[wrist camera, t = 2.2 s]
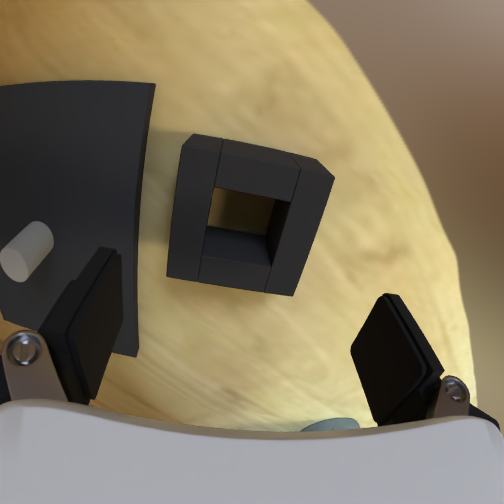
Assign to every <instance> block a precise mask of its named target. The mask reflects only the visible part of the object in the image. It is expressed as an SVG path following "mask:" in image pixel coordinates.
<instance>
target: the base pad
mask: <svg viewBox="0 0 504 504" xmlns="http://www.w3.org/2000/svg"><path fill="white" fill-rule="evenodd" d="M155 87H156V84H154V83H142V82H126V81H93V80H84V81H51V82H36V83H25V84H15V85H7V86H0V310H1V313H2V316H3V319H4V320H6V321H9V322H12V323H15V324H17V325H20V326H23V327H26V328H29V329H32V330H35V331H38V330H39V328H40V326H41V325H42V323H43V321H44V320H45V318H46V317H47V315H48V313H49V312H50V310H51V309H52V307H53V306H54V304H55V302H56V301H57V299H58V298H59V296H60V295H61V293H62V292H63V291H64V289H65V288H66V286H67V285H68V283H69V282H70V281H71V280H76V279H77V277H78V276H79V274H80V273H81V272H82V270H83V269H84V267H85V266H86V264H87V263H88V262H89V260H90V259H91V258H92V256H93V255H94V253H95V252H96V251H97V249H98V248H99V247H100V246H102V247H107V248H113V249H116V250H117V254H121V256H122V294H123V323H122V326H121V328H120V331H119V334H118V336H117V339H116V341H115V344H114V347H113V349H112V352H113V353H118V354H122V355H127V356H131V357H137V353H138V350H139V336H138V304H137V266H138V234H139V216H140V201H141V189H142V178H143V168H144V159H145V151H146V143H147V136H148V129H149V122H150V115H151V109H152V103H153V97H154V92H155Z"/></svg>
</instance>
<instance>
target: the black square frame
mask: <svg viewBox="0 0 504 504" xmlns="http://www.w3.org/2000/svg"><path fill="white" fill-rule="evenodd" d="M334 179H335V177H334V176H333V175H332V174H331V173H330V172H329V171H328V170H327V169H326V168H325V167H324V166H323V165H322V164H321V163H320V162H319V161H318V160H316V159H313V158H309V157H305V156H301V155H297V154H293V153H288V152H285V151H280V150H276V149H272V148H267V147H263V146H258V145H253V144H248V143H243V142H238V141H233V140H228V139H224V140H223V139H222V138H217V137H211V136H205V135H199V134H193V135H192V136H191V137H190V138H189V139H188V140H187V141H186V142H185V143H184V144H183V145H182V149H181V155H180V162H179V168H178V175H177V182H176V189H175V197H174V205H173V213H172V221H171V230H170V240H169V250H168V261H167V273H166V276H167V277H171V278H176V279H182V280H188V281H194V282H197V281H198V282H199V283H206V284H212V285H218V286H224V287H231V288H237V289H244V290H251V291H257V292H264V293H271V294H278V295H285V296H293V295H294V292H295V290H296V287H297V285H298V282H299V279H300V277H301V274H302V271H303V269H304V266H305V263H306V260H307V258H308V255H309V252H310V249H311V247H312V244H313V241H314V238H315V235H316V233H317V230H318V227H319V224H320V221H321V218H322V215H323V212H324V209H325V207H326V204H327V201H328V198H329V195H330V192H331V189H332V186H333V182H334ZM214 187H216V188H221V189H227V190H232V191H237V192H243V193H248V194H253V195H258V196H263V197H268V198H273V199H276V200H275V204H274V207H273V211H272V215H271V218H270V222H269V225H268V229H267V233H266V236H264V235H258V234H253V233H247V232H241V231H236V230H230V229H224V228H219V227H213V226H207V223H208V217H209V212H210V206H211V201H212V195H213V190H214Z"/></svg>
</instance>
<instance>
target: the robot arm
mask: <svg viewBox="0 0 504 504" xmlns="http://www.w3.org/2000/svg"><path fill="white" fill-rule="evenodd" d="M122 323H123V294H122V256H121V254H117V250H116V249H113V248H107V247H102V246H100V247H99V248H98V249H97V251H96V252H95V253H94V255H93V256H92V258H91V259H90V260H89V262H88V263H87V264H86V266H85V267H84V269H83V270H82V272H81V273H80V274H79V276H78V277H77V279H76V280H71V281H70V282H69V283H68V285H67V286H66V288H65V289H64V291H63V292H62V293H61V295H60V296H59V298H58V299H57V301H56V302H55V304H54V306H53V307H52V309H51V310H50V312H49V313H48V315H47V317H46V318H45V320H44V321H43V323H42V325H41V326H40V328H39V330H38V331H37V332H35V331H32V330H21V331H17V332H15V333H13V334H11V335H10V336H9V337H8V338H7V339H6V340H5V342H4V343H3V346H2V350H1V354H2V355H0V504H504V437H503V436H502V434H501V432H500V428H499V424H498V422H497V421H496V420H495V419H493V418H492V417H490V416H489V415H487V414H486V413H484V412H483V411H481V410H479V409H478V408H476V407H475V406H473V405H472V404H470V393H469V390H468V388H467V386H466V385H465V384H464V383H463V381H461V380H460V379H459V378H457V377H455V376H450V375H449V376H445V377H444V378H443V379H442V380H441V379H440V376H441V375H442V373H443V372H444V371H445V370H444V368H443V367H442V365H441V363H440V361H439V359H438V358H437V356H436V354H435V353H434V351H433V349H432V347H431V346H430V344H429V342H428V341H427V339H426V337H425V336H424V334H423V332H422V331H421V329H420V327H419V326H418V324H417V323H416V321H415V319H414V318H413V316H412V315H411V313H410V311H409V310H408V308H407V307H406V305H405V304H404V302H403V301H402V299H401V298H400V296H399V295H397V294H389V293H384V294H383V295H382V296H380V297H379V298H378V299H377V301H376V303H375V305H374V307H373V308H372V310H371V312H370V314H369V316H368V318H367V319H366V321H365V323H364V325H363V326H362V328H361V330H360V332H359V333H358V335H357V337H356V338H355V340H354V342H353V344H352V345H351V350H350V352H351V356H352V359H353V361H354V364H355V367H356V370H357V373H358V375H359V378H360V381H361V384H362V387H363V390H364V393H365V396H366V399H367V402H368V404H369V407H370V410H371V414H372V417H373V419H374V421H375V422H377V424H378V427H371V428H361V429H349V430H334V431H310V432H271V431H248V430H232V429H220V428H210V427H201V426H193V425H186V424H179V423H173V422H167V421H161V420H155V419H149V418H143V417H138V416H133V415H128V414H124V413H119V412H115V411H110V410H106V409H101V408H97V407H92V406H88V405H89V402H90V399H93V400H94V399H95V398H96V396H97V393H98V390H99V387H100V384H101V381H102V378H103V375H104V372H105V369H106V366H107V363H108V361H109V358H110V355H111V352H112V349H113V347H114V344H115V341H116V339H117V336H118V334H119V331H120V328H121V326H122Z"/></svg>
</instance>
